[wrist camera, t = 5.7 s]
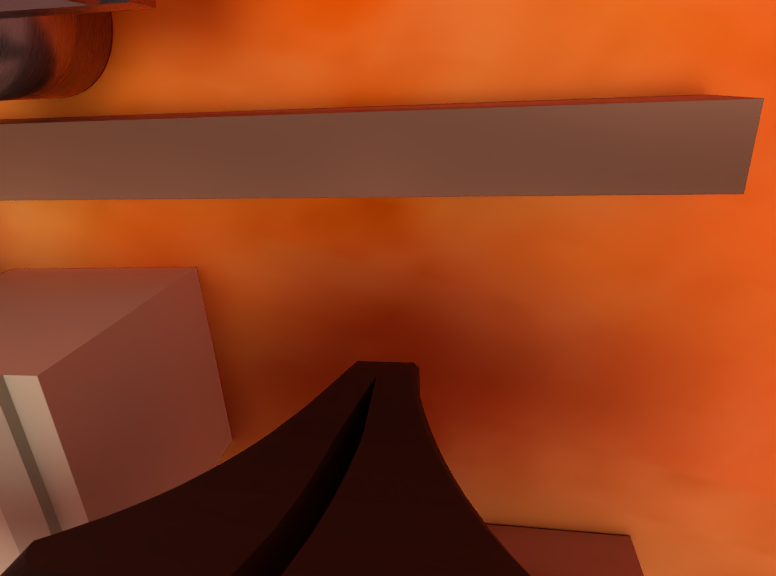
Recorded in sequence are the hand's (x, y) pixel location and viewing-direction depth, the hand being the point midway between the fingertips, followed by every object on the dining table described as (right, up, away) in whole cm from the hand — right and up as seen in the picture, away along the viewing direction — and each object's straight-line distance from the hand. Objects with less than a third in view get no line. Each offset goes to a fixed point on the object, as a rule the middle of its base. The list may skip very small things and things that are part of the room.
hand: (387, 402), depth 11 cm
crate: (-7, +1, +3) cm, 7 cm away
